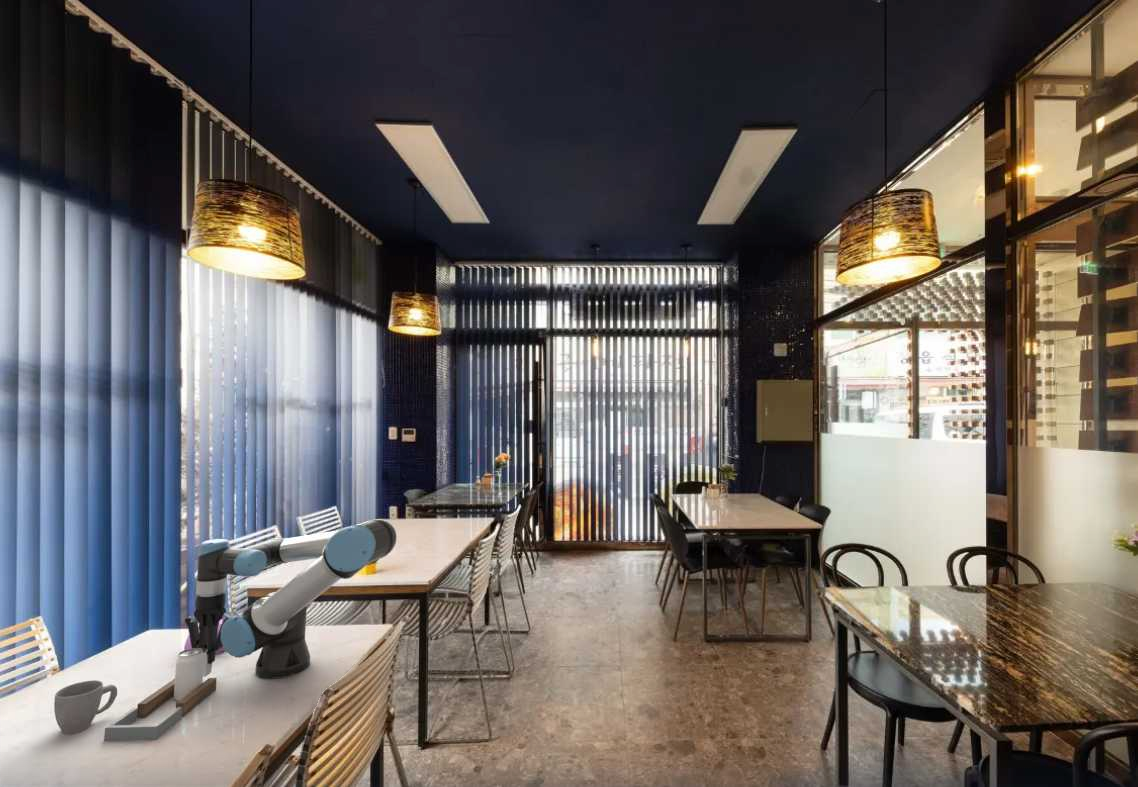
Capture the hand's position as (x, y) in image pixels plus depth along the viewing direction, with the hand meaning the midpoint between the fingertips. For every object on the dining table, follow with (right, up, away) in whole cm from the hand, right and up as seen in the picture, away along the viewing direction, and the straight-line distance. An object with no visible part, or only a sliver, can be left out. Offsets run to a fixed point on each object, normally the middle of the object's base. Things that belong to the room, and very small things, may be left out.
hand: (205, 674), depth 154 cm
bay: (+2, -1, -25) cm, 25 cm away
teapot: (-14, -4, +22) cm, 26 cm away
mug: (-14, -1, -23) cm, 27 cm away
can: (+1, -2, -8) cm, 8 cm away
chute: (+1, -1, -12) cm, 12 cm away
